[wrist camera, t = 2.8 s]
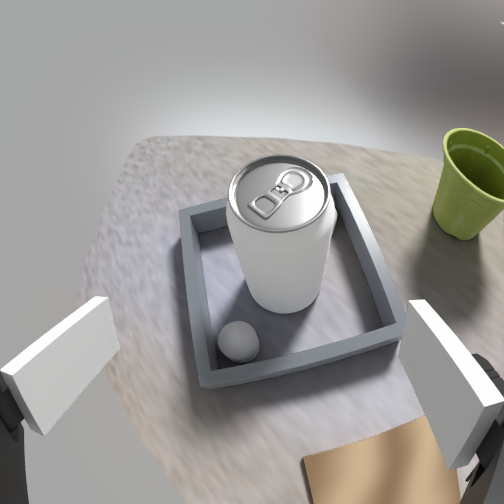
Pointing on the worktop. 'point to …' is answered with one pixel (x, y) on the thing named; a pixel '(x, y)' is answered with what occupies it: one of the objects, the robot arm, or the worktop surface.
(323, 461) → the pad
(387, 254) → the worktop surface
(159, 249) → the worktop surface
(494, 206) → the plant pot
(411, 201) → the worktop surface
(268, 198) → the can
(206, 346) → the tray
